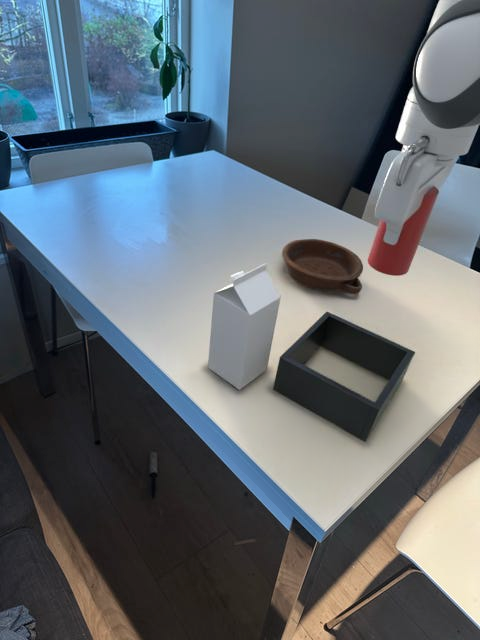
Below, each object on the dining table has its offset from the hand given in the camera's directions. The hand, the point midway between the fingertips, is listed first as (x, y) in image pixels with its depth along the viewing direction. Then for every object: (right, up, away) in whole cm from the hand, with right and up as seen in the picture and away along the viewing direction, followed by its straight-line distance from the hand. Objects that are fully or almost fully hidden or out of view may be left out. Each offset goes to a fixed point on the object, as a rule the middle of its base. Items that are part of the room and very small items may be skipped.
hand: (399, 233), depth 63 cm
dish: (-5, -2, +39) cm, 39 cm away
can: (-1, -4, +3) cm, 5 cm away
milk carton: (-23, -21, +12) cm, 33 cm away
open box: (-6, -23, +11) cm, 26 cm away
